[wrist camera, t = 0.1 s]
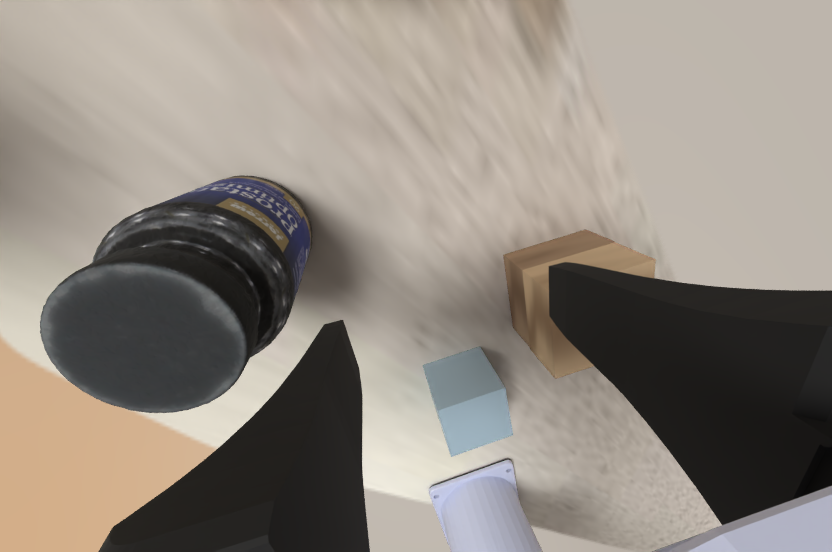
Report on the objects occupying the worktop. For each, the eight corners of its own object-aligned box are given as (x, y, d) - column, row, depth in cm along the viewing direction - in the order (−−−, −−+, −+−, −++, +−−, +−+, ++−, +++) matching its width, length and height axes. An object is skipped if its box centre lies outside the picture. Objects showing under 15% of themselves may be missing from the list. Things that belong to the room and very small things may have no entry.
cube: (488, 389, 27) (513, 435, 23) (435, 407, 27) (451, 456, 23) (479, 345, 25) (505, 387, 21) (422, 364, 25) (437, 410, 21)
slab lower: (584, 301, 25) (612, 321, 23) (511, 325, 25) (531, 348, 22) (583, 228, 23) (614, 241, 20) (501, 253, 22) (522, 270, 20)
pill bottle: (321, 190, 18) (292, 261, 8) (304, 288, 20) (265, 438, 10) (195, 160, 17) (-27, 204, 7) (191, 270, 19) (16, 429, 9)
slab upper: (611, 322, 23) (647, 348, 20) (530, 348, 22) (555, 378, 20) (614, 242, 20) (655, 259, 17) (522, 270, 20) (550, 292, 17)
